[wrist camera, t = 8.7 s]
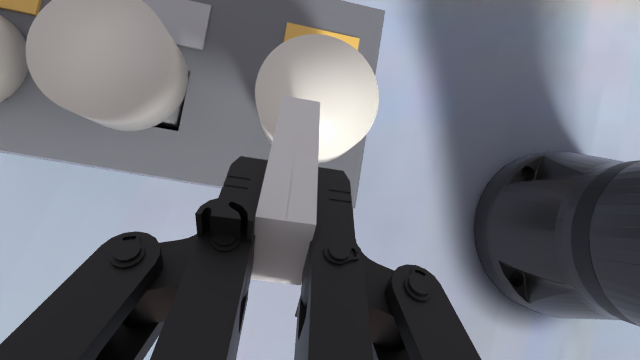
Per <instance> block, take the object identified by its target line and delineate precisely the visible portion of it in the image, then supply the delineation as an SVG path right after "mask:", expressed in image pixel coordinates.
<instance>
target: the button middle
mask: <svg viewBox="0 0 640 360" xmlns="http://www.w3.org/2000/svg"><path fill="white" fill-rule="evenodd" d="M26 61H27V65H28V69H29V72H30V74H31V76H32V78H33V80H34V82H35V83H36V85H37V87H38V88H39V89H40V90H41V91H42V93H43V94H44V95H45V96H47V97H48V98H49V99H50V100H51V101H53V102H54V103H55V104H57V105H59V106H60V107H62V108H64V109H66V110H68V111H71V112H73V113H75V114H78V115H80V116H82V117H85V118H87V119H89V120H91V121H94V122H96V123H98V124H101V125H103V126H106V127H108V128H111V129H115V130H120V131H138V130H144V129H148V128H151V127H153V126H156V125H161V126H166V127H172V128H177V129H179V126H180V121H181V116H182V111H183V106H184V101H185V96H186V91H187V86H188V70H187V65H186V62H185V59H184V57H183V54H182V52H181V51H180V49H179V48H178V46H177V45H176V43H175V42H174V40H173V38H172V37H171V35H170V34H169V32H168V31H167V29H166V28H165V26H164V25H163V23H162V22H161V20H160V19H159V17H158V16H157V15H156V13H155V12H154V11H153V10H152V9H151V8H150V7H149V6H148V5H147V4H146V3H144V2H143V1H142V0H52V1H51V2H49V3H48V4H47V5H46V6H45V7H44V8H43V9H42V10H41V11H40V12H39V13H38V15H37V16H36V18H35V19H34V21H33V23H32V25H31V27H30V29H29V32H28V35H27V41H26Z"/></svg>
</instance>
